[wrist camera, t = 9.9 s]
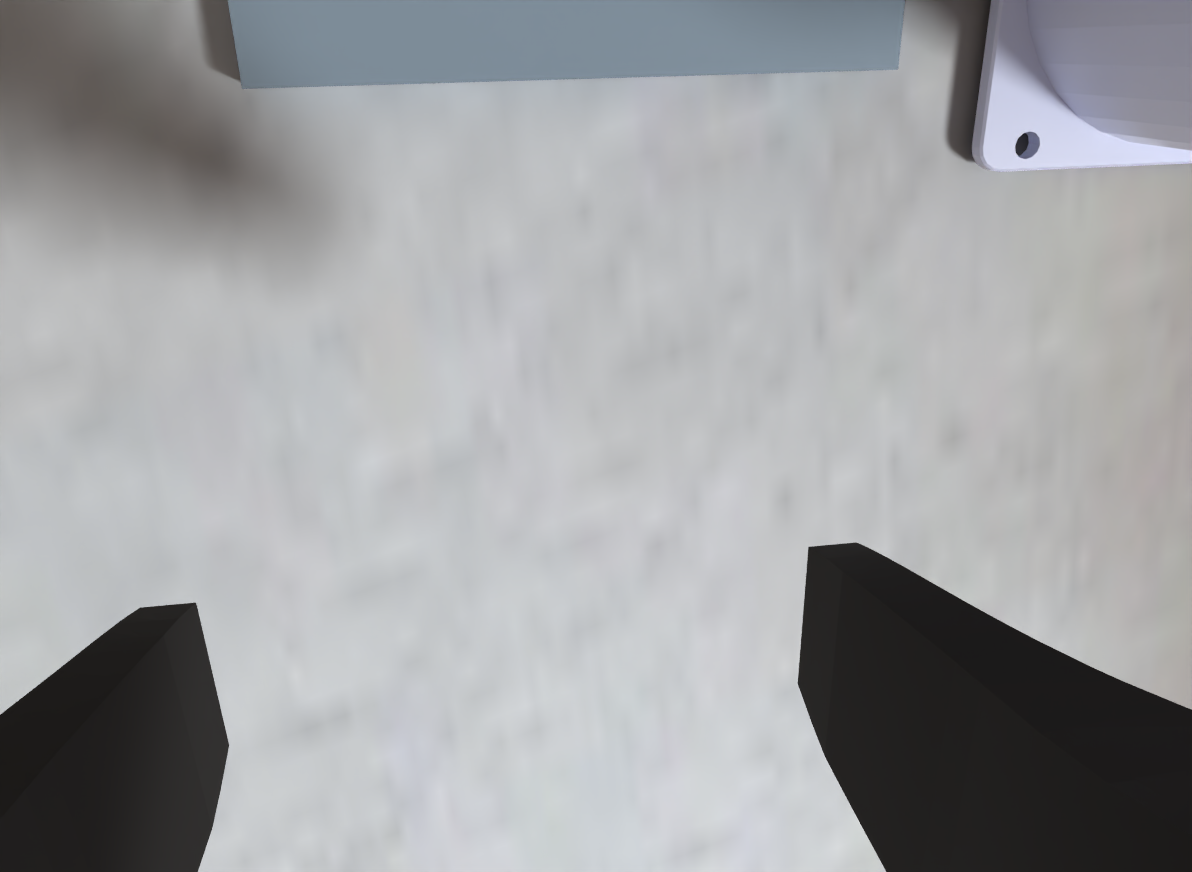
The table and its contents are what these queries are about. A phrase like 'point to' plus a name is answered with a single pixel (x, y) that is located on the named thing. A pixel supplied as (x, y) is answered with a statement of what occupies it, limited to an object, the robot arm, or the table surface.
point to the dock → (554, 39)
